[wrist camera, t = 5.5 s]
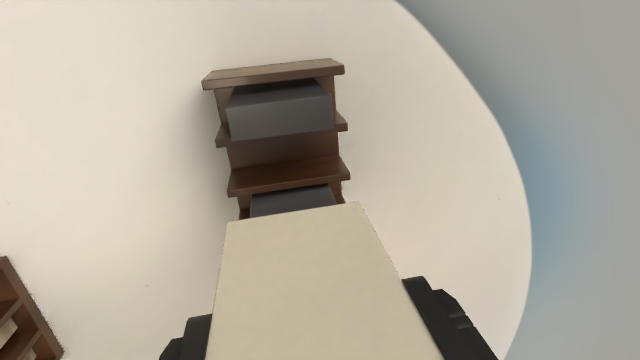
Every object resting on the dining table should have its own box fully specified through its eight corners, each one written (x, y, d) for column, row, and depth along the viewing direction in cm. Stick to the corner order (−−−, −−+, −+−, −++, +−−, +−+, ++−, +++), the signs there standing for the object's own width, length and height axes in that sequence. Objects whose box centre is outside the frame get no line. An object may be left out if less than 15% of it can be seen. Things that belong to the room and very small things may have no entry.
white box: (226, 221, 15) (182, 486, 6) (359, 200, 16) (478, 417, 7) (235, 257, 16) (207, 532, 7) (360, 236, 16) (468, 467, 8)
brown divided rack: (211, 70, 25) (191, 89, 18) (330, 57, 26) (356, 70, 19) (241, 209, 30) (235, 267, 23) (339, 194, 31) (363, 245, 24)
